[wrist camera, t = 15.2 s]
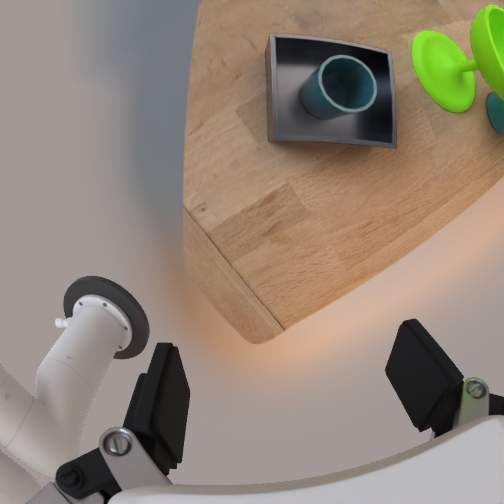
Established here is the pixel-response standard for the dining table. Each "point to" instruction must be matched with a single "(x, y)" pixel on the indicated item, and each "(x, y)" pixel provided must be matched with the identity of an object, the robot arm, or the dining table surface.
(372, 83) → the tumbler
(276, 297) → the dining table surface
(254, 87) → the dining table surface
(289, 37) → the grey open box
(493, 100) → the cup
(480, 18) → the wineglass
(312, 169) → the dining table surface
